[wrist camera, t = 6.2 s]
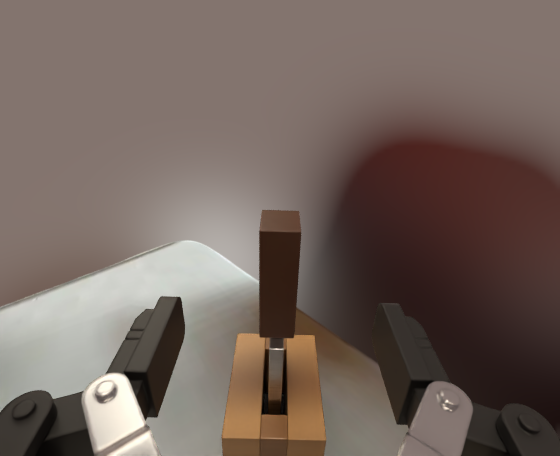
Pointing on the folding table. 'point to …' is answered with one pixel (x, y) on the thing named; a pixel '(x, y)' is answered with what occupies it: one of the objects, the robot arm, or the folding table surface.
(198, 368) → the folding table surface
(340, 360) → the folding table surface
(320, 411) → the knife stand
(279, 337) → the knife
